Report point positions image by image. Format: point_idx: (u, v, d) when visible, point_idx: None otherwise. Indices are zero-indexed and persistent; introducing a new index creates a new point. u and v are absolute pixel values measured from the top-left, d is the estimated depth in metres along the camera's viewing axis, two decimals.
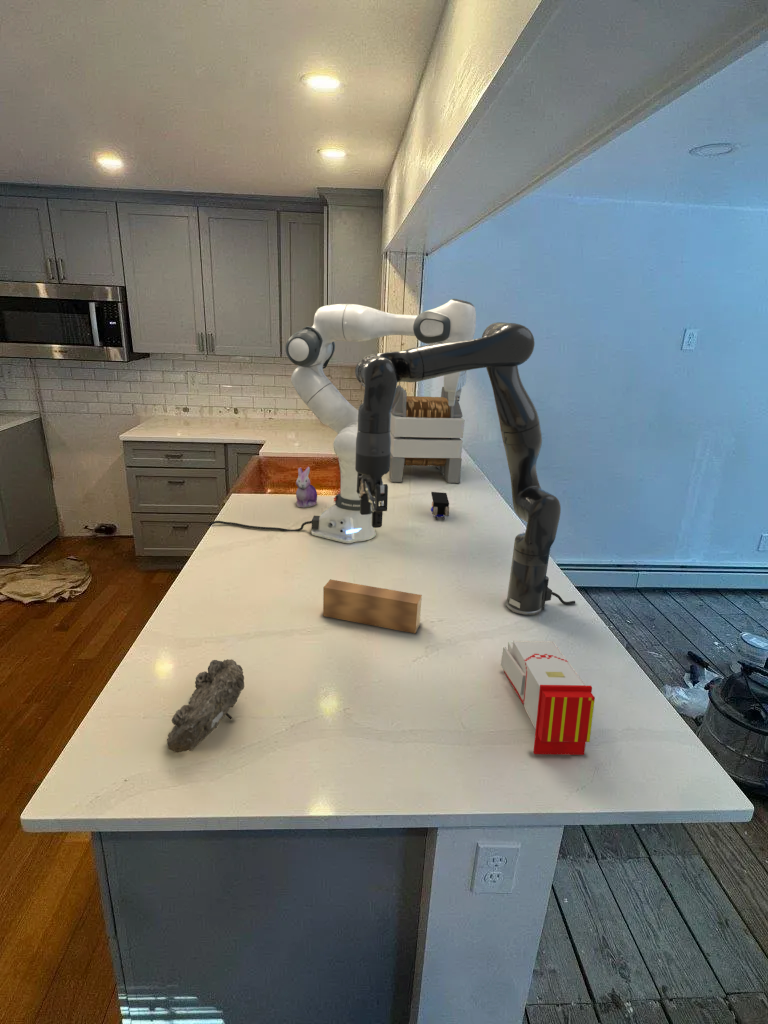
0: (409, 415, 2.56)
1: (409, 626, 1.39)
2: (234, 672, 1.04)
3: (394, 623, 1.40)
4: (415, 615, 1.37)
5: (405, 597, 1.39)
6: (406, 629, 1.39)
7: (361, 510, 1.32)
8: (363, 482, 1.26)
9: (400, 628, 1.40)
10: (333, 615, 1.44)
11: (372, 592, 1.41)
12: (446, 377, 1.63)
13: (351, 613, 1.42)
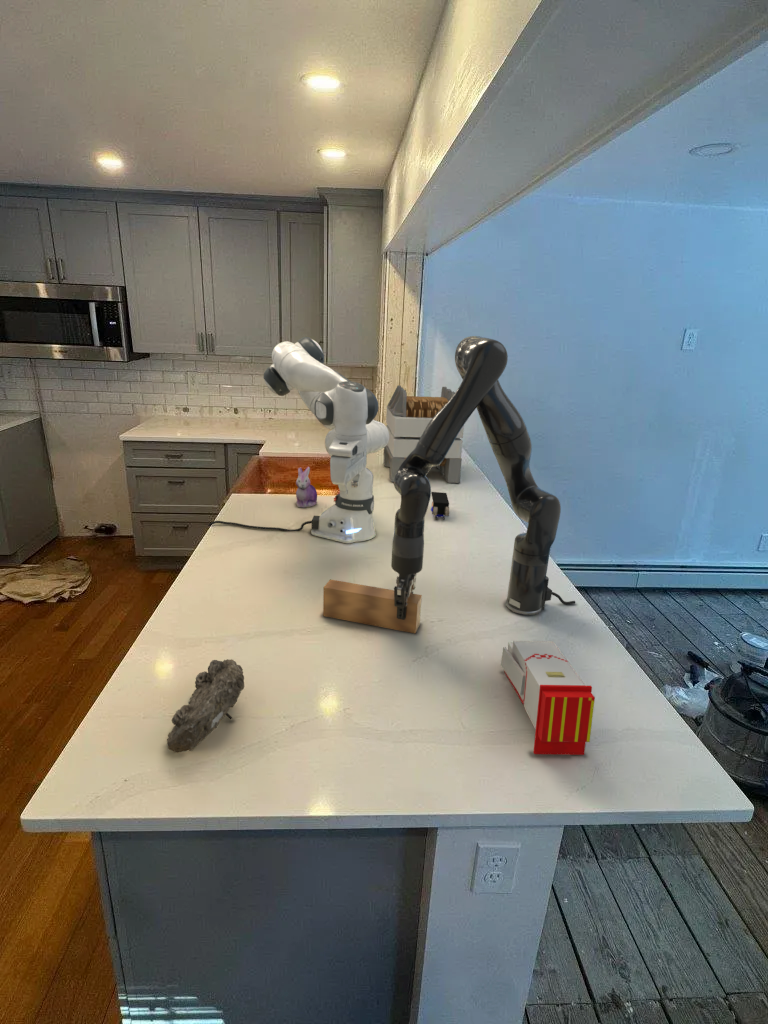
0: (409, 415, 2.56)
1: (409, 626, 1.39)
2: (234, 672, 1.04)
3: (394, 623, 1.40)
4: (415, 615, 1.37)
5: None
6: (406, 629, 1.39)
7: None
8: None
9: (400, 628, 1.40)
10: (334, 615, 1.44)
11: (372, 592, 1.41)
12: (333, 469, 1.48)
13: (351, 613, 1.42)
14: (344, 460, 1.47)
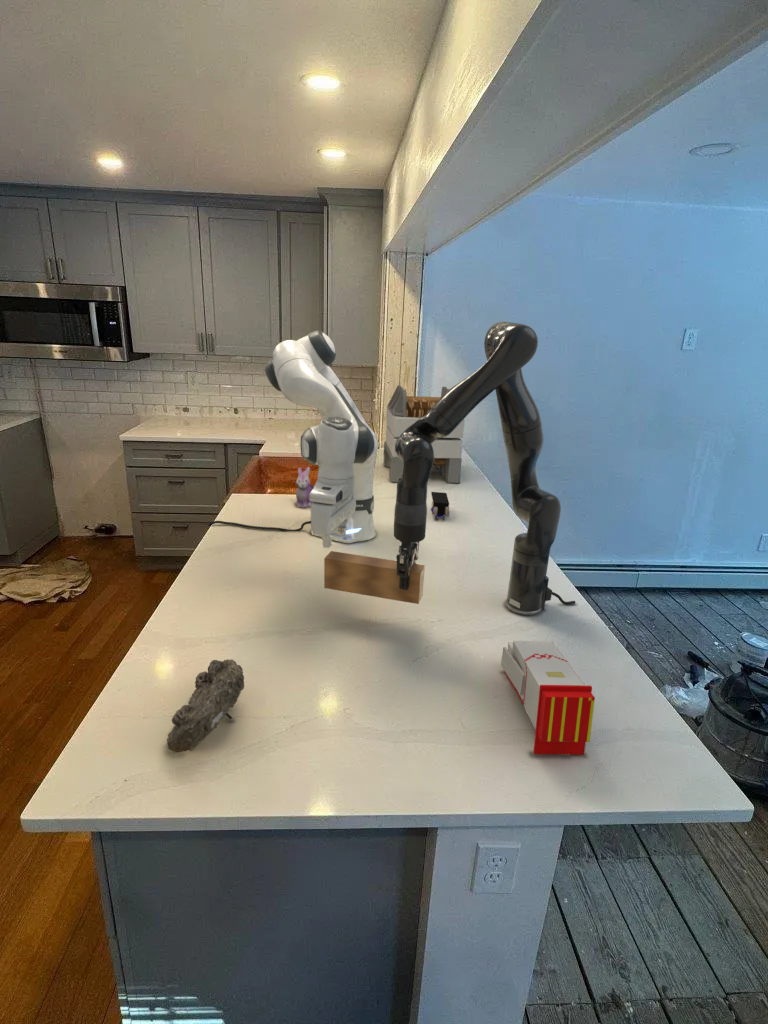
0: (409, 415, 2.56)
1: (412, 596, 1.36)
2: (234, 672, 1.04)
3: (396, 593, 1.37)
4: (418, 585, 1.35)
5: None
6: (409, 600, 1.37)
7: None
8: None
9: (403, 598, 1.37)
10: (335, 587, 1.41)
11: (374, 562, 1.38)
12: (314, 517, 1.29)
13: (353, 584, 1.40)
14: (327, 508, 1.28)
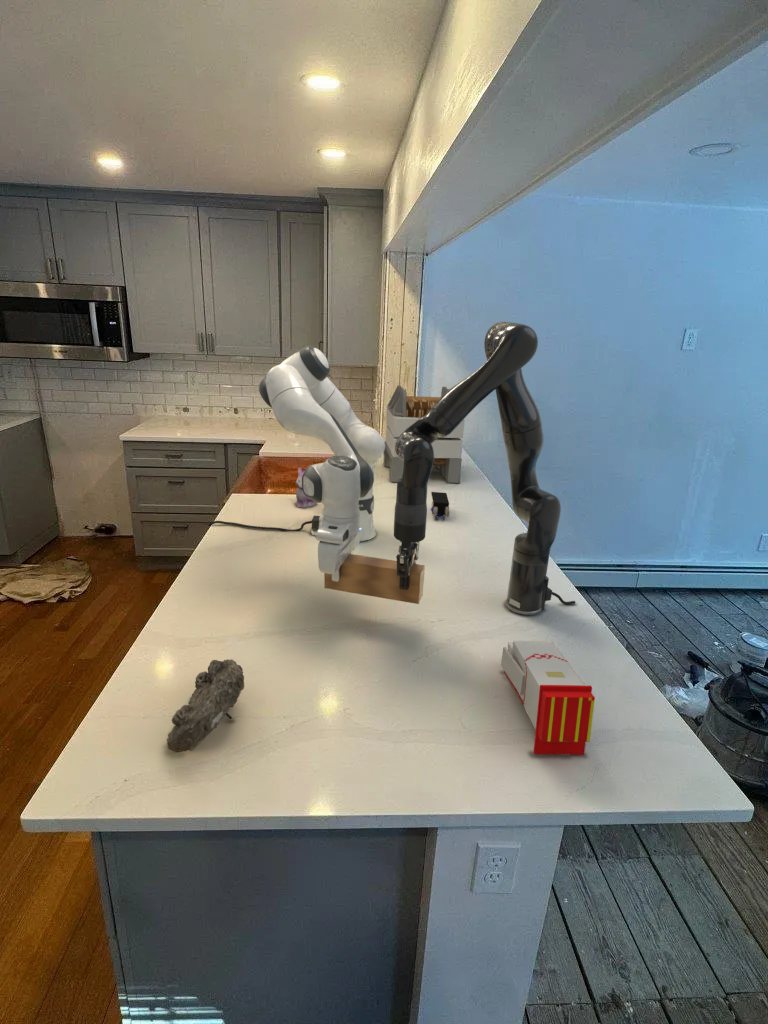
0: (409, 415, 2.56)
1: (412, 596, 1.36)
2: (234, 672, 1.04)
3: (396, 593, 1.37)
4: (418, 585, 1.35)
5: None
6: (409, 600, 1.37)
7: None
8: None
9: (403, 598, 1.37)
10: (335, 587, 1.41)
11: (374, 562, 1.38)
12: (321, 557, 1.31)
13: (353, 584, 1.40)
14: (334, 548, 1.30)
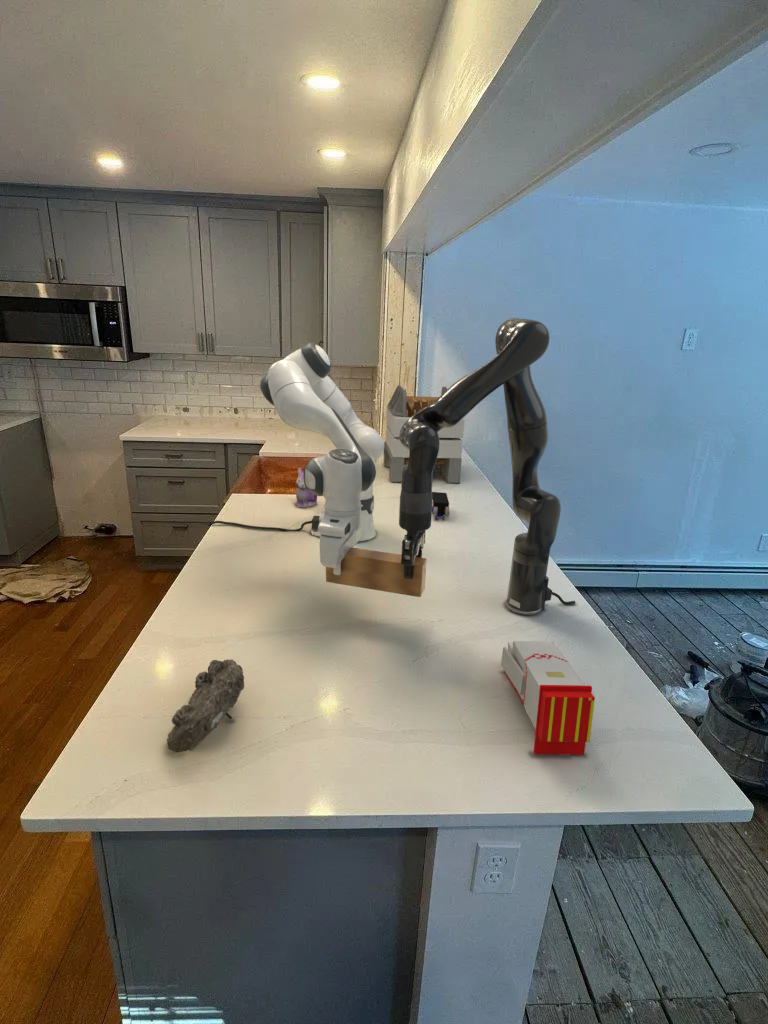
0: (409, 415, 2.56)
1: (414, 589, 1.36)
2: (234, 672, 1.04)
3: (398, 587, 1.37)
4: (420, 578, 1.34)
5: None
6: (411, 593, 1.36)
7: None
8: None
9: (405, 592, 1.37)
10: (336, 581, 1.41)
11: (376, 555, 1.38)
12: (323, 550, 1.30)
13: (355, 578, 1.39)
14: (336, 541, 1.30)
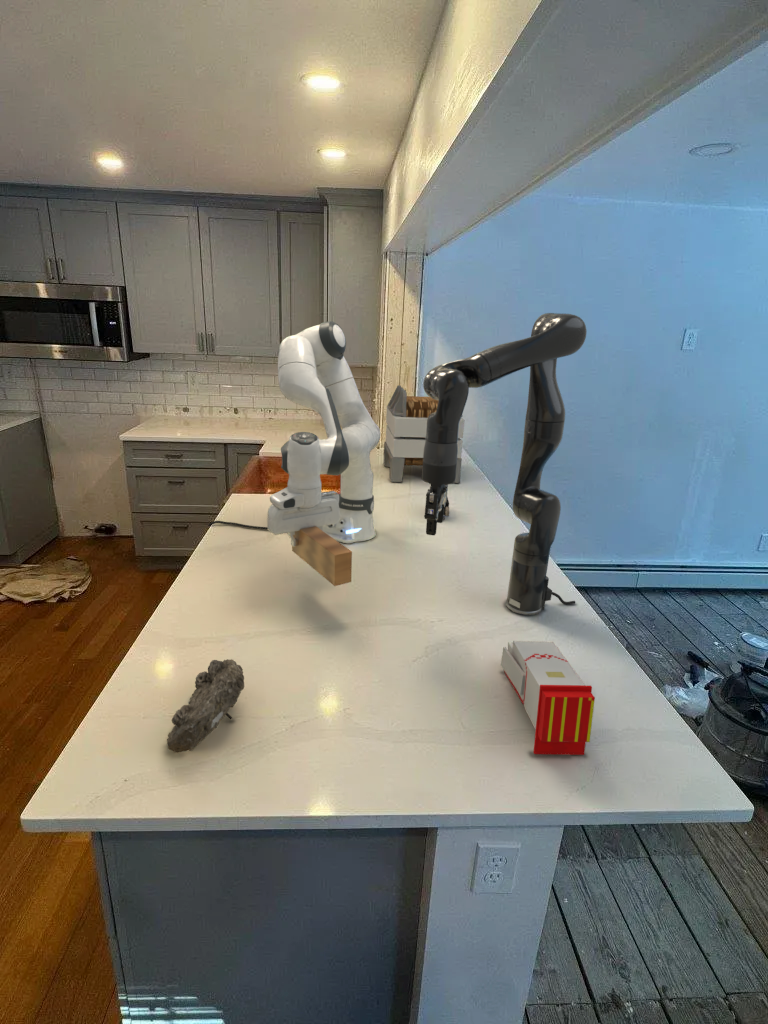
0: (409, 415, 2.56)
1: (331, 577, 1.38)
2: (234, 672, 1.04)
3: (323, 571, 1.41)
4: (334, 567, 1.36)
5: (335, 548, 1.39)
6: (330, 580, 1.39)
7: None
8: None
9: (327, 577, 1.40)
10: (296, 552, 1.54)
11: (319, 537, 1.45)
12: (268, 517, 1.47)
13: (304, 553, 1.50)
14: (275, 511, 1.44)
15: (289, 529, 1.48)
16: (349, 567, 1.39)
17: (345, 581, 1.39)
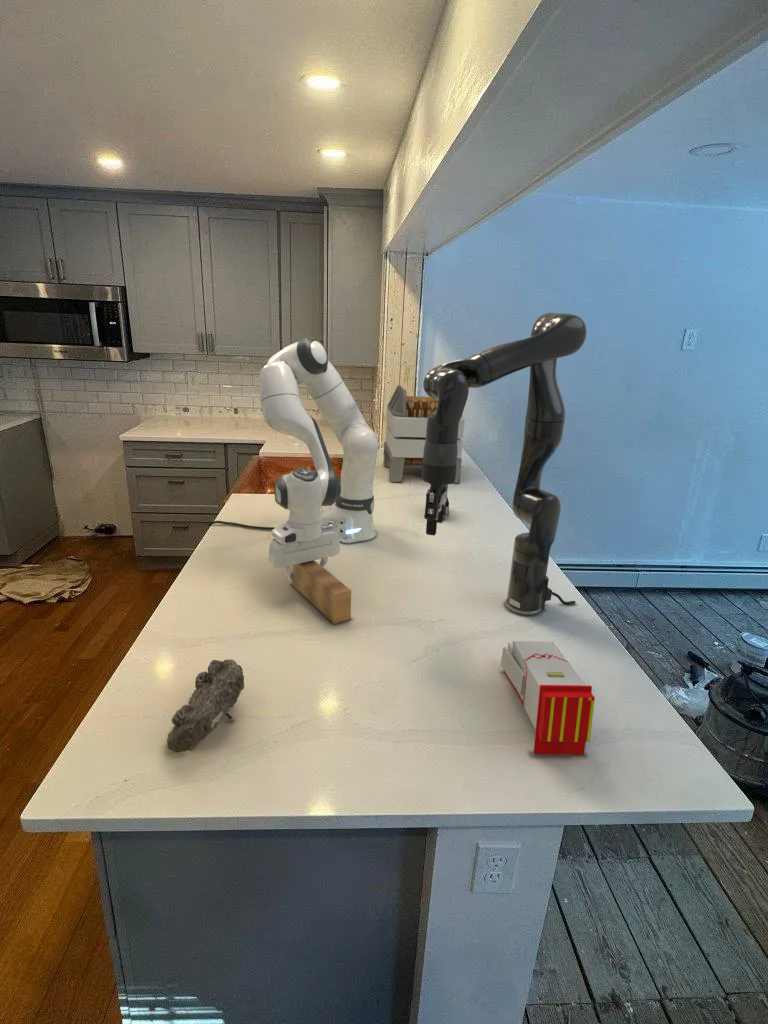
0: (409, 415, 2.56)
1: (331, 614, 1.42)
2: (234, 672, 1.04)
3: (323, 608, 1.45)
4: (333, 605, 1.40)
5: (334, 587, 1.42)
6: (329, 617, 1.43)
7: None
8: None
9: (326, 614, 1.44)
10: (296, 586, 1.58)
11: (319, 574, 1.49)
12: (270, 551, 1.50)
13: (304, 588, 1.54)
14: (276, 546, 1.47)
15: (290, 562, 1.51)
16: (348, 605, 1.42)
17: (344, 618, 1.43)
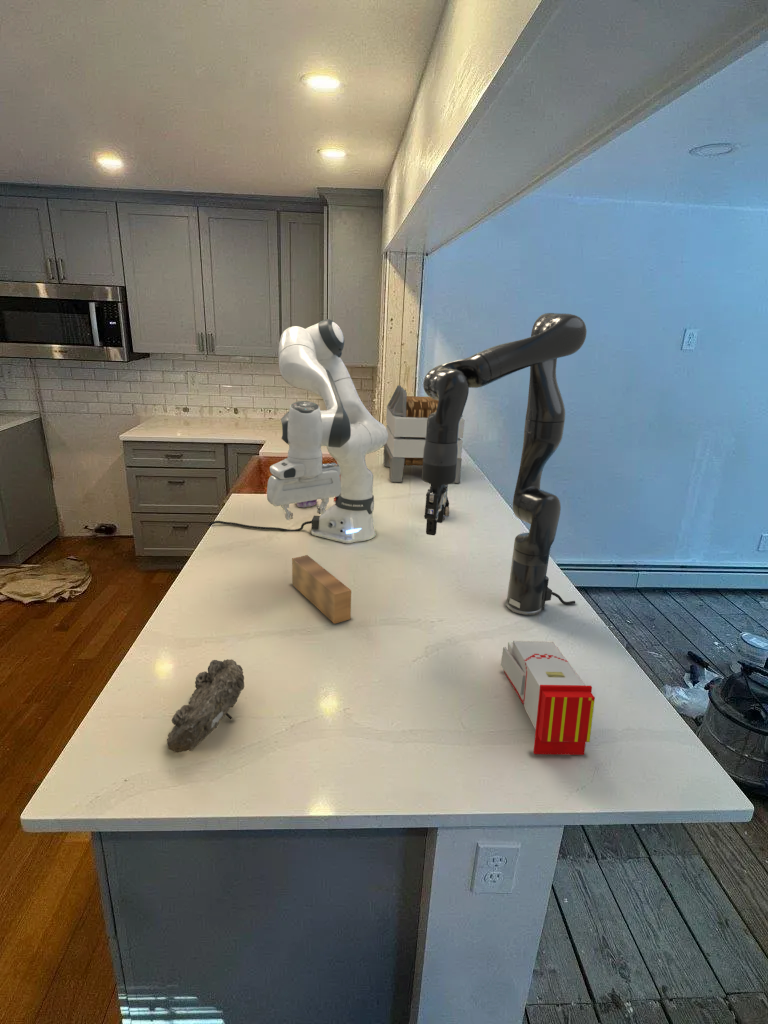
0: (409, 415, 2.56)
1: (331, 614, 1.42)
2: (234, 672, 1.04)
3: (323, 608, 1.45)
4: (333, 605, 1.40)
5: (334, 587, 1.42)
6: (329, 617, 1.43)
7: None
8: None
9: (326, 614, 1.44)
10: (296, 586, 1.58)
11: (319, 574, 1.49)
12: (268, 487, 1.44)
13: (304, 588, 1.54)
14: (275, 481, 1.41)
15: (289, 500, 1.45)
16: (348, 605, 1.42)
17: (344, 618, 1.43)
